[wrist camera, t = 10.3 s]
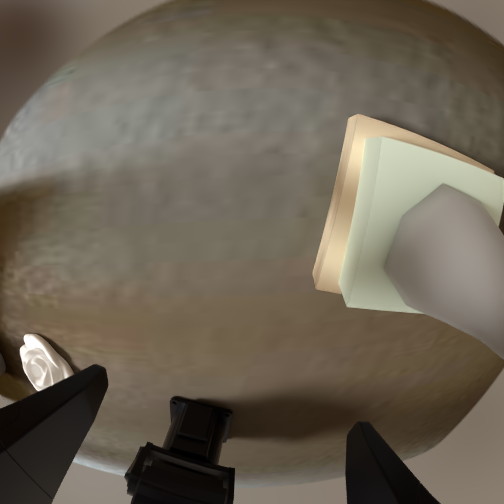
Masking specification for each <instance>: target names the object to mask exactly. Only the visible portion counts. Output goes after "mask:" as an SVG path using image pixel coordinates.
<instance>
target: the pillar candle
mask: <svg viewBox="0 0 504 504" xmlns="http://www.w3.org/2000/svg"><path fill="white" fill-rule="evenodd" d="M5 371H6V365H5V362H4V359H3V357H2V355H1V353H0V376H1V375H2V374H3V373H4V372H5Z"/></svg>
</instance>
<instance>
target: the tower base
mask: <svg viewBox="0 0 504 504" xmlns="http://www.w3.org/2000/svg"><path fill="white" fill-rule="evenodd" d="M372 137H386V138H390V139H394V140H397V141H401V142H405V143H408V144H412V145H415V146H418V147H422V148H425V149H428V150H431V151H434V152H437V153H440V154H443V155H446V156H449V157H452V158H454V159H457V160H460V161H463V162H465V163H468V164H470V165H473V166H475V167H478V168H480V169H483V170H485V171H488V172H490V173H492V174H494V171H493V170H491V169H490V168H488V167H486V166H484V165H482V164H480V163H479V162H477V161H475V160H473V159H471V158H469V157H467V156H465V155H463V154H461V153H459V152H457V151H454V150H452V149H450V148H448V147H446V146H444V145H441V144H439V143H437V142H434V141H432V140H430V139H427V138H425V137H423V136H420V135H418V134H415V133H413V132H410V131H407V130H405V129H402V128H399V127H397V126H394V125H391V124H388V123H385V122H382V121H379V120H376V119H373V118H370V117H367V116H363V115H360V114H357V115H355V116H352V117H350V118H348V124H347V129H346V134H345V139H344V145H343V150H342V154H341V159H340V164H339V169H338V173H337V178H336V182H335V187H334V191H333V195H332V200H331V204H330V208H329V212H328V216H327V220H326V224H325V228H324V232H323V236H322V240H321V244H320V248H319V251H318V255H317V259H316V263H315V266H314V270H313V273H312V274H313V278H314V283H315V287H316V289H317V290H323V291H328V292H334V293H339V294H342V292H341V289H340V286H339V284H338V282H339V278H340V273H341V269H342V265H343V261H344V256H345V252H346V247H347V243H348V238H349V233H350V228H351V223H352V218H353V213H354V207H355V202H356V196H357V190H358V184H359V178H360V171H361V165H362V158H363V150H364V143H365V138H372Z"/></svg>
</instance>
